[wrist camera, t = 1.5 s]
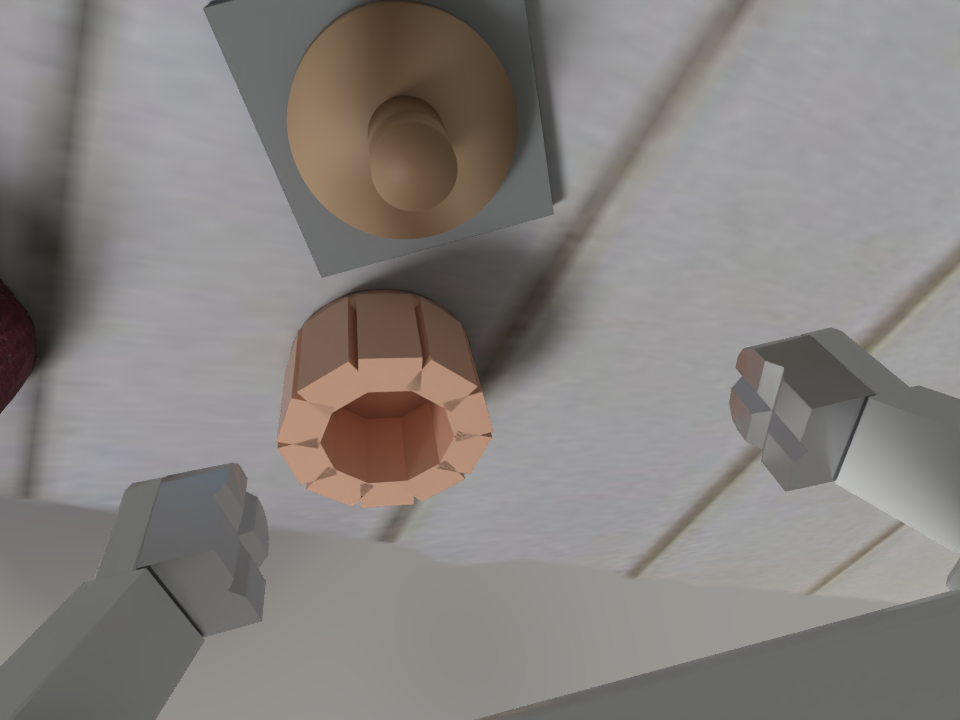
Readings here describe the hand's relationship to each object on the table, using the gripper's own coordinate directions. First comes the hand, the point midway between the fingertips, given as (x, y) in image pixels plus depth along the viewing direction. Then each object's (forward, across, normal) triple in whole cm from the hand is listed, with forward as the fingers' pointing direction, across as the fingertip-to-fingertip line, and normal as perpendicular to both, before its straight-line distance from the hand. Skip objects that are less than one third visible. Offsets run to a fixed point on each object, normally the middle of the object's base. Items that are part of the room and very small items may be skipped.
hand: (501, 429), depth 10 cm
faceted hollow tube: (+21, +3, +14) cm, 26 cm away
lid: (+20, 0, +1) cm, 20 cm away
